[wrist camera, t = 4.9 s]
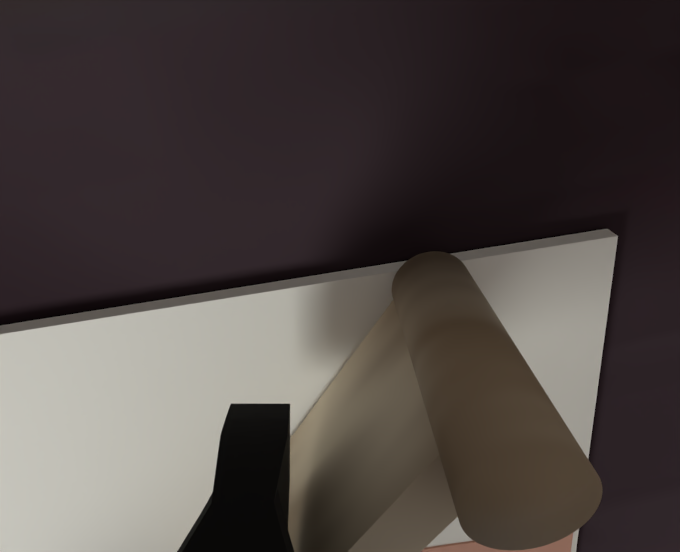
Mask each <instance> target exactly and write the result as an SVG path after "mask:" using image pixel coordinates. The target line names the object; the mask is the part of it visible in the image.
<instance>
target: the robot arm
mask: <svg viewBox="0 0 680 552" xmlns="http://www.w3.org/2000/svg"><path fill="white" fill-rule="evenodd" d="M289 489H290V404H230V407H229V410H228V413H227V416H226V419H225V422H224V425H223V428H222V432H221V435H220V442H219V449H218V456H217V464H216V471H215V479H214V486H213V492H212V494H211V496H210V498H209V500H208V502H207V503H206V505H205V507H204V509H203V510H202V512H201V514H200V515H199V517H198V519H197V520H196V522H195V523H194V525H193V527H192V528H191V530H190V532H189V533H188V535H187V536H186V538H185V540H184V541H183V543H182V545H181V546H180V548H179V549H178V551H177V552H294V549H293V545H292V542H291V539H290V535H289V532H288V515H289Z"/></svg>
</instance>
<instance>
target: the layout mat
mask: <svg viewBox="0 0 680 552" xmlns="http://www.w3.org/2000/svg"><path fill="white" fill-rule="evenodd" d="M617 240H618V236H617V235H616V234H614V233H613V232H612V231H610V230H609V229H602V230H595V231H589V232H583V233H576V234H570V235H564V236H558V237H551V238H545V239H539V240H533V241H526V242H520V243H514V244H508V245H501V246H495V247H489V248H483V249H476V250H470V251H464V252H457V253H451V255H453V256H455V257H457V258H458V259H459V260H461V261H462V262H463V264H464V265H465V266H466V268H467V269H468V271H469V273H470V274H471V276H472V277H473V279H474V281H475V282H476V284H477V285H478V287H479V288H480V290H481V292H482V293H483V295H484V296H485V298H486V299H487V301H488V303H489V304H490V306H491V307H492V309H493V310H494V312H495V314H496V315H497V317H498V318H499V320H500V321H501V323H502V325H503V326H504V328H505V329H506V331H507V332H508V334H509V336H510V337H511V339H512V340H513V342H514V343H515V345H516V347H517V348H518V350H519V351H520V353H521V354H522V356H523V358H524V359H525V361H526V362H527V364H528V365H529V367H530V369H531V370H532V372H533V373H534V375H535V376H536V378H537V380H538V381H539V383H540V384H541V386H542V387H543V389H544V391H545V392H546V394H547V395H548V397H549V399H550V400H551V402H552V403H553V405H554V406H555V408H556V410H557V411H558V413H559V414H560V416H561V417H562V419H563V421H564V422H565V424H566V425H567V427H568V428H569V430H570V432H571V433H572V435H573V436H574V438H575V439H576V441H577V443H578V444H579V446H580V447H581V449H582V450H583V452H584V454H585V455H586V457H587V458H589V450H590V443H591V435H592V428H593V420H594V413H595V405H596V398H597V390H598V383H599V375H600V368H601V360H602V352H603V345H604V337H605V330H606V322H607V315H608V307H609V300H610V292H611V285H612V277H613V270H614V262H615V255H616V247H617ZM407 261H408V260H407ZM405 262H406V261H401V262H395V263H389V264H382V265H376V266H370V267H364V268H357V269H351V270H345V271H338V272H332V273H326V274H320V275H313V276H307V277H301V278H295V279H288V280H282V281H276V282H270V283H263V284H257V285H251V286H245V287H238V288H232V289H226V290H219V291H213V292H207V293H201V294H194V295H188V296H182V297H176V298H169V299H163V300H157V301H151V302H144V303H138V304H132V305H126V306H119V307H113V308H107V309H100V310H94V311H88V312H82V313H75V314H69V315H63V316H57V317H50V318H44V319H38V320H32V321H25V322H19V323H13V324H7V325H0V552H177V551H178V549H179V548H180V546H181V545H182V543H183V541H184V540H185V538H186V536H187V535H188V533H189V532H190V530H191V528H192V527H193V525H194V523H195V522H196V520H197V519H198V517H199V515H200V514H201V512H202V510H203V509H204V507H205V505H206V503H207V502H208V500H209V498H210V496H211V494H212V492H213V486H214V479H215V471H216V464H217V456H218V449H219V442H220V435H221V432H222V428H223V425H224V422H225V419H226V416H227V413H228V410H229V407H230V404H290V438H291V437H292V435H293V434H294V433H295V431H296V430H297V429H298V427H299V426H300V425H301V423H302V422H303V421H304V419H305V418H306V417H307V415H308V414H309V413H310V411H311V410H312V409H313V407H314V406H315V405H316V403H317V402H318V400H319V399H320V398H321V396H322V395H323V394H324V392H325V391H326V390H327V388H328V387H329V386H330V384H331V383H332V382H333V380H334V379H335V378H336V376H337V375H338V374H339V372H340V371H341V370H342V368H343V367H344V365H345V364H346V363H347V361H348V360H349V359H350V357H351V356H352V355H353V353H354V352H355V351H356V349H357V348H358V347H359V345H360V344H361V343H362V341H363V340H364V339H365V337H366V336H367V335H368V333H369V332H370V330H371V329H372V328H373V326H374V325H375V324H376V322H377V321H378V320H379V318H380V317H381V316H382V314H383V313H384V312H385V310H386V309H387V308H388V306H389V305H390V304H391V302H392V301H393V297H392V283H393V279H394V277H395V275H396V273H397V271H398V270H399V268H400V267H401V266H402V265H403V264H404V263H405ZM578 533H579V529H578V530H576V531H575V532H573V533H572V534H570V535H568V536H567V537H565V538H563V539H561V540H558V541H556V542H553V543H551V544H548V545H545V546H541V547H537V548H532V549H526V550H499V549H493V548H489V547H486V546H483V545H481V544H479V543H477V542H475V541H473V540H472V539H471V538H469V537H468V536H467V535H466V534H465V532H464V531H463V529H462V528H461V526H460V523H459V519H458V517H457V518H456V519H455V520H454V521H453V522H452V523H450V524H449V525H448V526H447V527H446V528H445V529H444V530H443V531H442V532H441V533H440V534H439V535H438V536H437V537H436V538H435V539H434V540H433V541H432V542H431V543H430V544H428V545H427V546H426V547H425V548H424V549H423V550H422V551H421V552H576V548H577V540H578Z"/></svg>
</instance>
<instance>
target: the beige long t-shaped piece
mask: <svg viewBox="0 0 680 552" xmlns="http://www.w3.org/2000/svg"><path fill="white" fill-rule="evenodd" d="M392 297H393V301H392V302H391V304H390V305H389V306H388V308H387V309H386V310H385V312H384V313H383V314H382V316H381V317H380V318H379V320H378V321H377V322H376V324H375V325H374V326H373V328H372V329H371V330H370V332H369V333H368V335H367V336H366V337H365V339H364V340H363V341H362V343H361V344H360V345H359V347H358V348H357V349H356V351H355V352H354V353H353V355H352V356H351V357H350V359H349V360H348V361H347V363H346V364H345V365H344V367H343V368H342V370H341V371H340V372H339V374H338V375H337V376H336V378H335V379H334V380H333V382H332V383H331V384H330V386H329V387H328V388H327V390H326V391H325V392H324V394H323V395H322V396H321V398H320V399H319V400H318V402H317V403H316V405H315V406H314V407H313V409H312V410H311V411H310V413H309V414H308V415H307V417H306V418H305V419H304V421H303V422H302V423H301V425H300V426H299V427H298V429H297V430H296V431H295V433H294V434H293V435H292V437H291V438H290V489H289V515H288V532H289V535H290V539H291V542H292V545H293V549H294V552H421V551H422V550H423V549H424V548H425V547H426V546H427V545H428V544H430V543H431V542H432V541H433V540H434V539H435V538H436V537H437V536H438V535H439V534H440V533H441V532H442V531H443V530H444V529H445V528H446V527H447V526H448V525H449V524H450V523H452V522H453V521H454V520H455V519H456V518H457V517H458V519H459V523H460V526H461V528H462V529H463V531H464V532H465V534H466V535H467V536H468V537H469V538H471V539H472V540H473V541H475V542H477V543H479V544H481V545H483V546H486V547H489V548H493V549H499V550H526V549H532V548H537V547H541V546H545V545H548V544H551V543H553V542H556V541H558V540H561V539H563V538H565V537H567V536H568V535H570V534H572V533H573V532H575V531H576V530H578V529H579V528H580V527H582V526H583V525H584V524H585V523H586V522H587V521H588V520H589V519H590V518H591V517H592V516H593V514H594V513H595V511H596V510H597V508H598V506H599V504H600V501H601V498H602V491H603V490H602V483H601V480H600V478H599V476H598V474H597V472H596V471H595V469H594V468H593V466H592V465H591V463H590V461H589V460H588V458H587V457H586V455H585V454H584V452H583V450H582V449H581V447H580V446H579V444H578V443H577V441H576V439H575V438H574V436H573V435H572V433H571V432H570V430H569V428H568V427H567V425H566V424H565V422H564V421H563V419H562V417H561V416H560V414H559V413H558V411H557V410H556V408H555V406H554V405H553V403H552V402H551V400H550V399H549V397H548V395H547V394H546V392H545V391H544V389H543V387H542V386H541V384H540V383H539V381H538V380H537V378H536V376H535V375H534V373H533V372H532V370H531V369H530V367H529V365H528V364H527V362H526V361H525V359H524V358H523V356H522V354H521V353H520V351H519V350H518V348H517V347H516V345H515V343H514V342H513V340H512V339H511V337H510V336H509V334H508V332H507V331H506V329H505V328H504V326H503V325H502V323H501V321H500V320H499V318H498V317H497V315H496V314H495V312H494V310H493V309H492V307H491V306H490V304H489V303H488V301H487V299H486V298H485V296H484V295H483V293H482V292H481V290H480V288H479V287H478V285H477V284H476V282H475V281H474V279H473V277H472V276H471V274H470V273H469V271H468V269H467V268H466V266H465V265H464V264H463V262H462V261H461V260H459V259H458V258H457V257H455V256H453V255H451V254H449V253H446V252H440V251H430V252H425V253H421V254H418V255H416V256H414V257H412V258H411V259H409V260H408V261H406V262H405V263H404V264H403V265H402V266H401V267H400V268H399V270H398V271H397V273H396V275H395V277H394V279H393V283H392Z"/></svg>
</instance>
